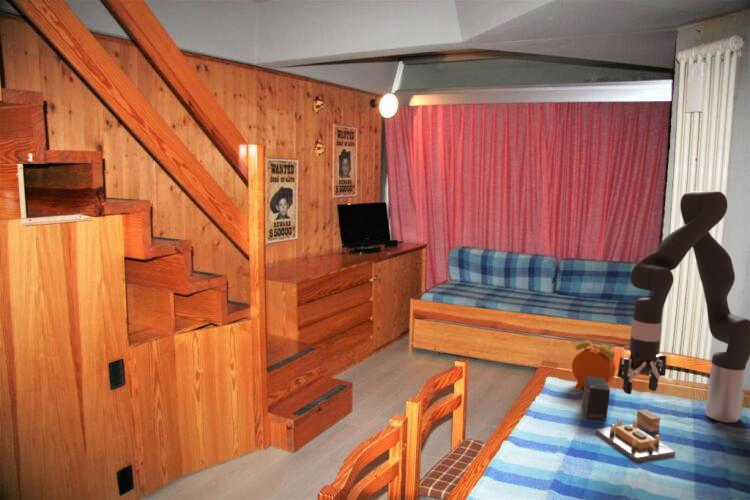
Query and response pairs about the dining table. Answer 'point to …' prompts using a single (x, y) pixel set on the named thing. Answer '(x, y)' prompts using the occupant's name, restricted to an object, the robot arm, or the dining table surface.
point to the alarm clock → (593, 362)
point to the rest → (648, 420)
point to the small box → (595, 398)
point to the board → (633, 435)
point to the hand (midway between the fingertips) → (639, 391)
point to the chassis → (635, 444)
